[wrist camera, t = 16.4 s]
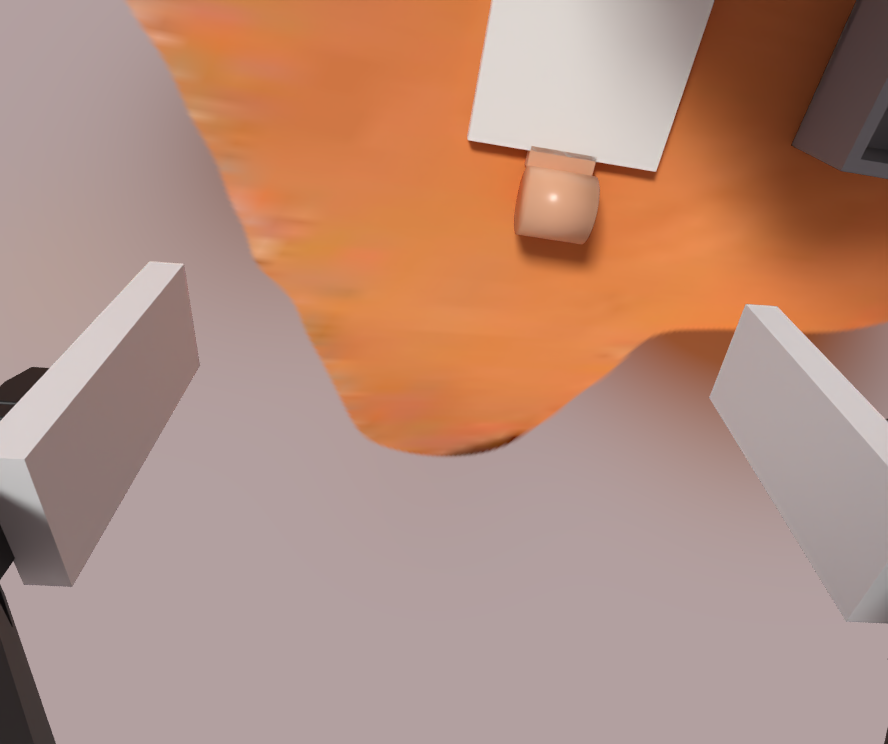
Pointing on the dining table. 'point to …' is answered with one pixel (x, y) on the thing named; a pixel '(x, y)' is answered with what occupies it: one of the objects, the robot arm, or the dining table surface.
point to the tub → (853, 98)
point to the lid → (581, 96)
